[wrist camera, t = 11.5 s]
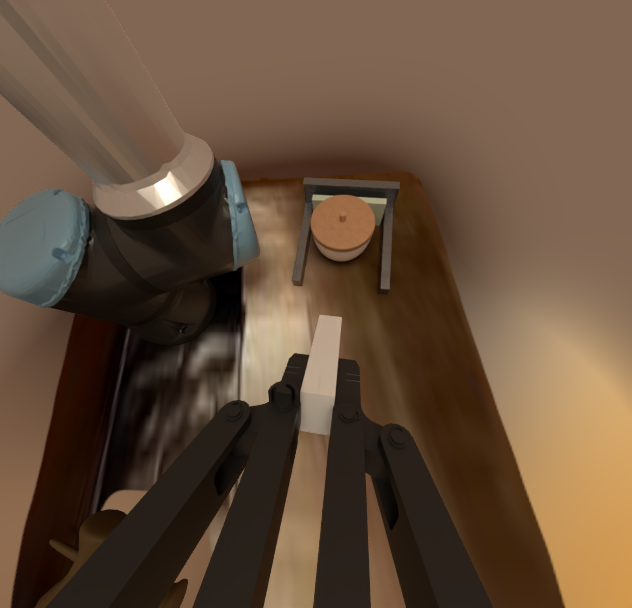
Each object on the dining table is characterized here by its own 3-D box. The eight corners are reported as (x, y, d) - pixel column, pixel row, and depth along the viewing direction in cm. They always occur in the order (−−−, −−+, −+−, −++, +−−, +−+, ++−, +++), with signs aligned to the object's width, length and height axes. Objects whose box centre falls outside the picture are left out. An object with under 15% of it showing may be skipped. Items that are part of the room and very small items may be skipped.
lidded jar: (318, 220, 47) (314, 184, 38) (371, 225, 46) (380, 188, 37) (309, 267, 44) (303, 239, 35) (365, 273, 43) (374, 246, 34)
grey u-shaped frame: (294, 285, 43) (287, 268, 36) (308, 204, 48) (304, 177, 42) (386, 294, 41) (396, 278, 35) (390, 209, 47) (399, 182, 40)
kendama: (171, 637, 30) (51, 566, 33) (206, 549, 33) (93, 490, 35) (135, 698, 24) (-6, 605, 27) (181, 585, 27) (49, 511, 30)
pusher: (314, 221, 47) (312, 199, 41) (315, 216, 47) (312, 194, 42) (379, 225, 46) (386, 204, 40) (380, 220, 46) (386, 198, 40)
